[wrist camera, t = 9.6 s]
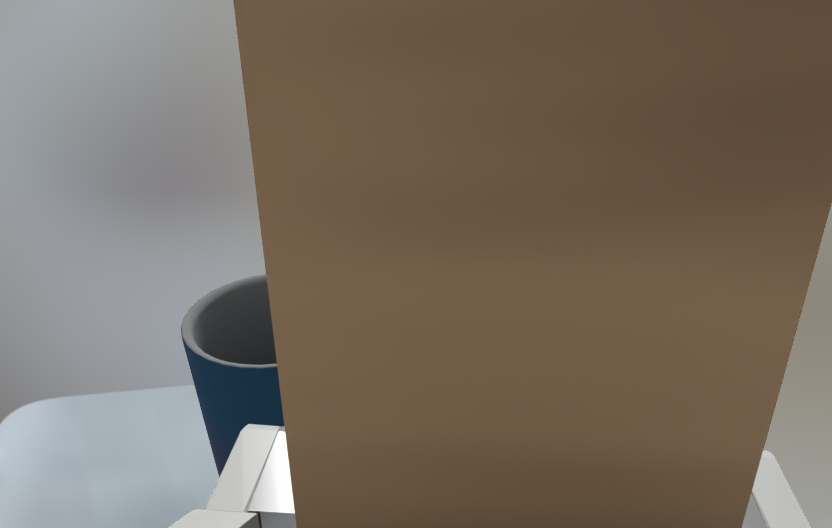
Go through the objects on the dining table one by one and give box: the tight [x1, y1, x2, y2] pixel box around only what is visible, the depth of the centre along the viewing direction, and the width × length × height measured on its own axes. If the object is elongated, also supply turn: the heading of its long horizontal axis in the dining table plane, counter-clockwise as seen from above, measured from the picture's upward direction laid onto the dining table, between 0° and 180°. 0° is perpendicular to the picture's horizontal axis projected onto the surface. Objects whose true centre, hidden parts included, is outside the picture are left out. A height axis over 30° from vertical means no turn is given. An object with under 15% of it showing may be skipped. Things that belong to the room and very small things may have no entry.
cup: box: [181, 274, 284, 477], centre depth 30 cm, size 7×7×15 cm
